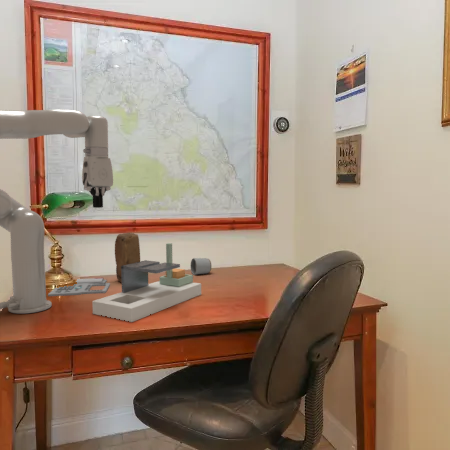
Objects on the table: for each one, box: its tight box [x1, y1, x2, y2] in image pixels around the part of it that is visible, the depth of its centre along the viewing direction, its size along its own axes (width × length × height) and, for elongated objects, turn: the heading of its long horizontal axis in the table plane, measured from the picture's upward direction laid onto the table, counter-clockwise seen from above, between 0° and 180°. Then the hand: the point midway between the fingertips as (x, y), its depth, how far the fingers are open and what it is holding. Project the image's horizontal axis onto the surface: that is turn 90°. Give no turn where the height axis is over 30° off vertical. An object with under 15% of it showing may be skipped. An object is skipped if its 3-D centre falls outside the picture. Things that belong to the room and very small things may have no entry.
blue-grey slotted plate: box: [47, 277, 111, 297], centre depth 160 cm, size 23×3×20 cm
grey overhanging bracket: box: [121, 259, 181, 293], centre depth 137 cm, size 12×15×9 cm
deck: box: [92, 280, 202, 323], centre depth 137 cm, size 36×16×4 cm, turn 149°
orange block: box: [164, 268, 186, 279], centre depth 148 cm, size 5×5×5 cm
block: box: [114, 232, 141, 283], centre depth 169 cm, size 11×8×20 cm
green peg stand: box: [159, 242, 194, 287], centre depth 148 cm, size 9×9×15 cm
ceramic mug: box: [190, 257, 212, 276], centre depth 186 cm, size 10×8×7 cm
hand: (97, 207), depth 141 cm, fingers closed
